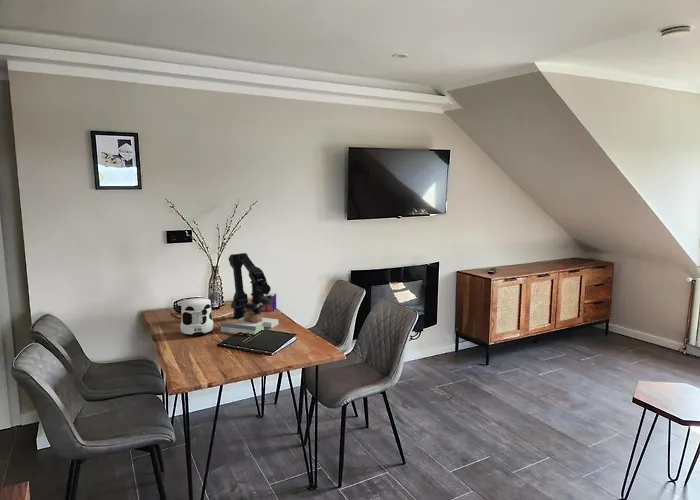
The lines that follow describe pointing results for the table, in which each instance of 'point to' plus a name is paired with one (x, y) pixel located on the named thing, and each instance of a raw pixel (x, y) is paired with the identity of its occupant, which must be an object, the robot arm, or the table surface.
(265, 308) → the puzzle cube
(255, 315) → the walnut block
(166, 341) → the table surface
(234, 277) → the robot arm
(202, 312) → the milk container
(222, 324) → the board
